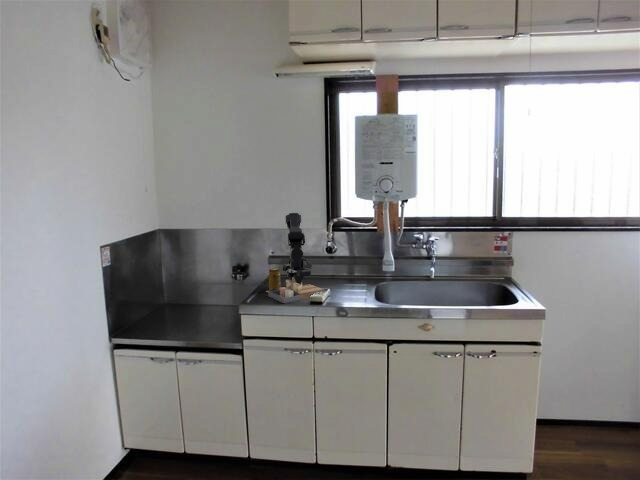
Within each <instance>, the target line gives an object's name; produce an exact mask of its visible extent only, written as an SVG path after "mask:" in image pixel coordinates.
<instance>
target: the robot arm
mask: <svg viewBox="0 0 640 480" xmlns="http://www.w3.org/2000/svg"><path fill="white" fill-rule="evenodd" d="M285 224H286V228H287V229H288V232H287V242H288V243H287V245H288V247H289V249H290V250H289V254H290V257H288V263H287V264H283V266H282V271H284V272H286V275H287V278H289V280H291V281H292V277H294V278H295V282H296V283H299V284H300V285H301V282H302V283H303V278H305V277H307V276H309V277H310V276H312V268H313V264H314V263H312V262H311V261H310V262H309V261H307V259H305V257H303V256H304V252H303V247H302V246H305V244H306V237H305V233H304V232H303V230H302V228H301V224H302V214H299V212H289V213H288V214H286V215H285Z"/></svg>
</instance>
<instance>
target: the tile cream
mask: <svg viewBox="0 0 640 480" xmlns="http://www.w3.org/2000/svg"><path fill="white" fill-rule="evenodd" d="M292 296H293V290H290V289H287V290H285V298H286V297H292Z"/></svg>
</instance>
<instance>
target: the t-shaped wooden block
mask: <svg viewBox="0 0 640 480" xmlns="http://www.w3.org/2000/svg"><path fill="white" fill-rule="evenodd" d="M302 285H303V281H302V282H301V285H300V284H299V283H296V282H295V278H294V277H292V281H291V280H290V279H285V288H288V289H291V290H293V291H295V292H298V293H299V292H301V289H302Z"/></svg>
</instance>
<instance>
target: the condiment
mask: <svg viewBox="0 0 640 480" xmlns="http://www.w3.org/2000/svg"><path fill="white" fill-rule="evenodd" d="M268 271H269V272H268V273H269V274H268V290H266V291H265V292H266V293H268V294H269V291H275V290H280V288H281V287H282V286H281V284H282V283H281V274H280V273H281V272H280V269H279V268H278V267H276V268H275V267H273V268H272V267H271V268H269V269H268Z"/></svg>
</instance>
